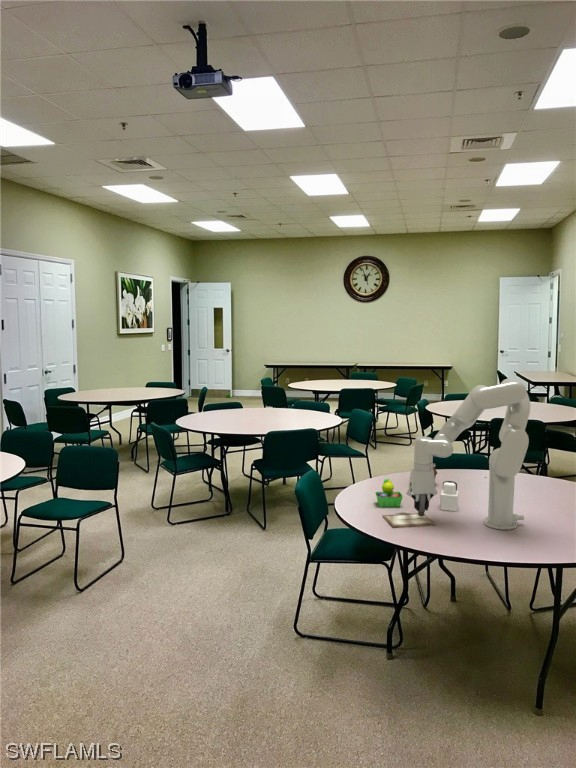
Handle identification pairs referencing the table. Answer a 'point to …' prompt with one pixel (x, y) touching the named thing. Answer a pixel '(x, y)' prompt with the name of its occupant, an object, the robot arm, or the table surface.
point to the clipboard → (407, 520)
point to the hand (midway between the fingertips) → (421, 509)
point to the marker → (422, 504)
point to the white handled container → (449, 496)
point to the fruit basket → (388, 495)
